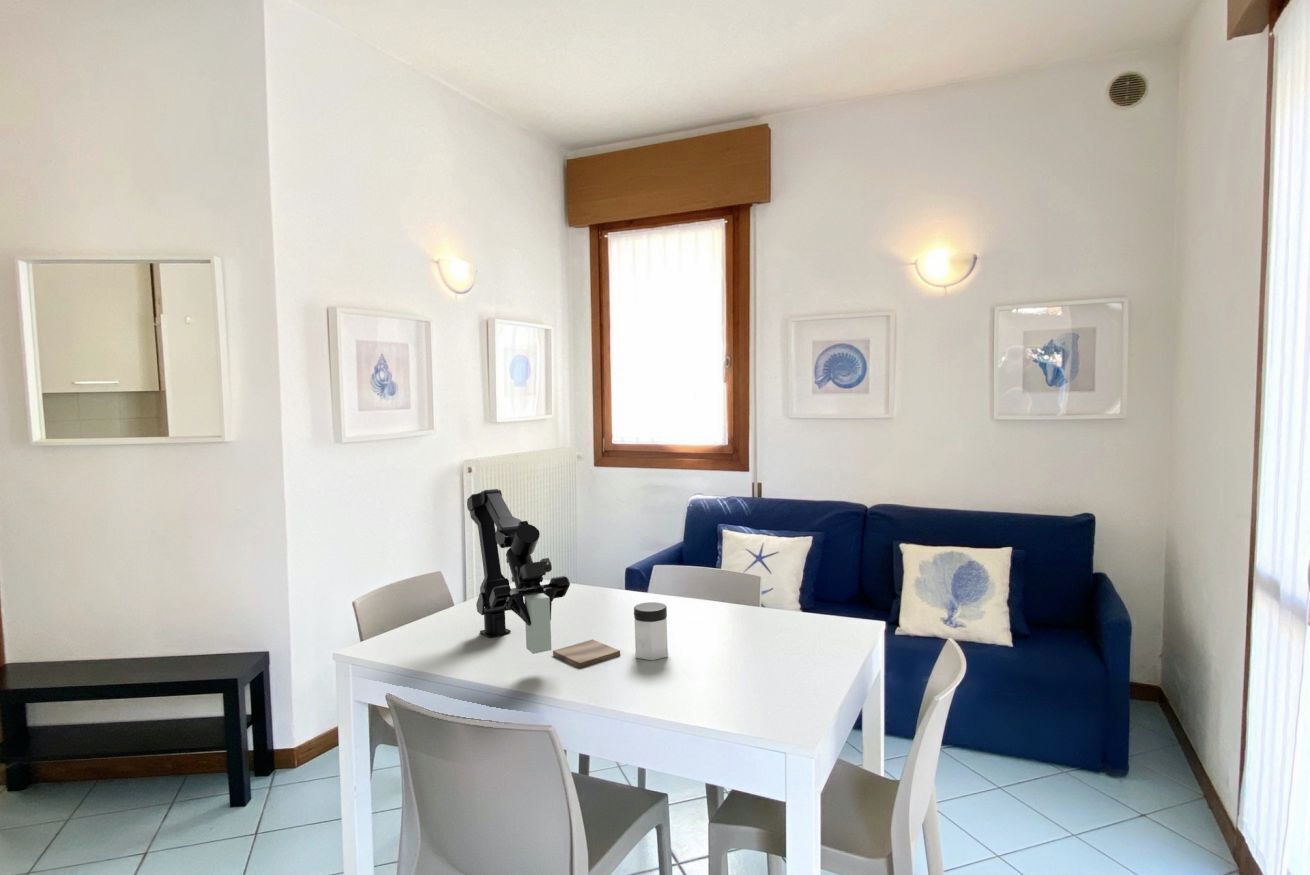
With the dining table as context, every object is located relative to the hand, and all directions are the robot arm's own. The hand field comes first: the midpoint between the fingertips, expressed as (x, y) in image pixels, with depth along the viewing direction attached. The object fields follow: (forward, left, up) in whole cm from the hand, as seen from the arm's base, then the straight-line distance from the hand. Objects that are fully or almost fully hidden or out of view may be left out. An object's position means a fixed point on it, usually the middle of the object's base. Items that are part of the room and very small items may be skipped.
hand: (539, 622), depth 163 cm
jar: (+9, +26, -12) cm, 30 cm away
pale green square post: (-1, 0, -7) cm, 7 cm away
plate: (-2, +14, -12) cm, 19 cm away
